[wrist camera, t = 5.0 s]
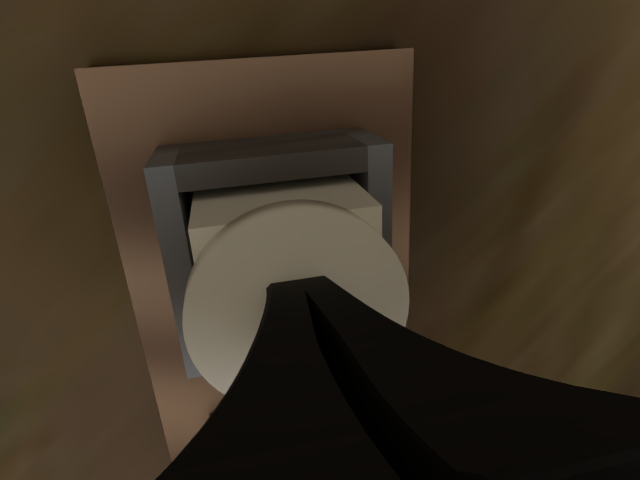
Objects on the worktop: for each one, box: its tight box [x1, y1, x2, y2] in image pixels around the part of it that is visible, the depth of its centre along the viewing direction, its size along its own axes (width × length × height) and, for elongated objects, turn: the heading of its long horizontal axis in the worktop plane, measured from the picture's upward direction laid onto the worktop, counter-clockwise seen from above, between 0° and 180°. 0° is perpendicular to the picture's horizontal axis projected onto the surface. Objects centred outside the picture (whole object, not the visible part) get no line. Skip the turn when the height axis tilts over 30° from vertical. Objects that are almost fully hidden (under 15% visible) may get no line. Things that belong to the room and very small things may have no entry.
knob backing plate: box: [74, 48, 414, 461], centre depth 19 cm, size 32×10×4 cm, turn 3°
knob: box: [182, 174, 409, 395], centre depth 12 cm, size 5×5×4 cm
